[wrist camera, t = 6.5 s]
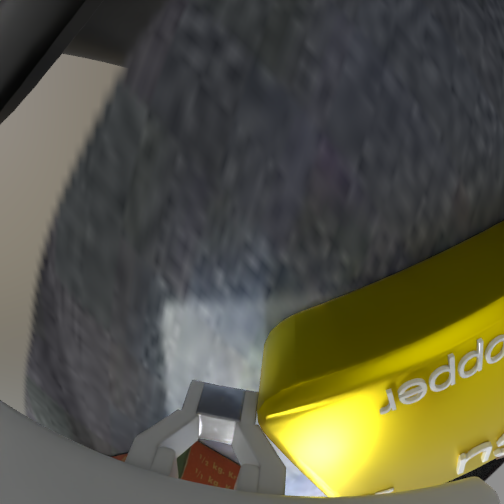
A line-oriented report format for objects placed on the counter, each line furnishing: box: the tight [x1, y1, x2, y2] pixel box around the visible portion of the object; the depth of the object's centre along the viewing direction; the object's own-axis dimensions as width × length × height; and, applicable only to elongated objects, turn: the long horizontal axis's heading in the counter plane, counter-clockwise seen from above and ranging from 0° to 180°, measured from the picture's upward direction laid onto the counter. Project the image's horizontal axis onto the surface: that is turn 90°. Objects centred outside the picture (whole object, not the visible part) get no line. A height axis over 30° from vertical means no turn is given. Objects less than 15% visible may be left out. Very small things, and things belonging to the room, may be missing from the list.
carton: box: [112, 440, 241, 490], centre depth 19 cm, size 8×16×4 cm, turn 130°
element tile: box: [257, 221, 504, 497], centre depth 11 cm, size 15×15×5 cm
